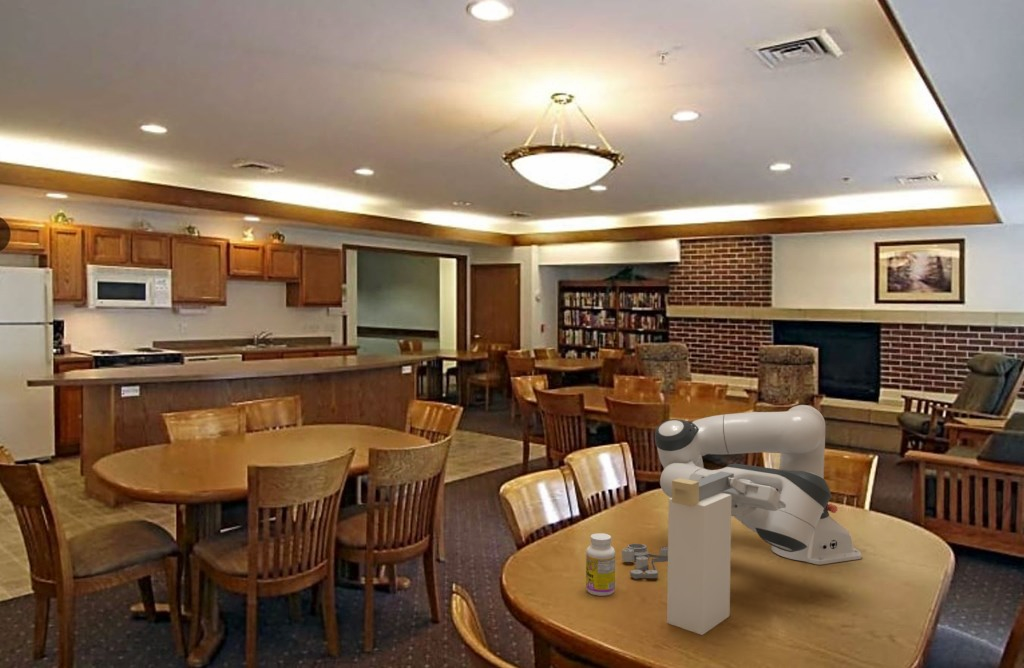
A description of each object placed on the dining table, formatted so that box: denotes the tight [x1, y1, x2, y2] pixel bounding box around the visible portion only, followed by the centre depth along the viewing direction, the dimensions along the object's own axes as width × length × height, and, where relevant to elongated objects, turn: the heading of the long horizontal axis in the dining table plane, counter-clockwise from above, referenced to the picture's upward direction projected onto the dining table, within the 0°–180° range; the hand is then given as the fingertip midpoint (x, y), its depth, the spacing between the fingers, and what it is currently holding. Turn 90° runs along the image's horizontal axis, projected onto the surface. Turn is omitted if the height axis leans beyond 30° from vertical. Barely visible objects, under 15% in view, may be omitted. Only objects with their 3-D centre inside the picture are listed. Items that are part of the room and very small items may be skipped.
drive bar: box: [672, 471, 734, 506], centre depth 149 cm, size 20×4×4 cm, turn 137°
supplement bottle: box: [585, 532, 616, 597], centre depth 163 cm, size 7×7×13 cm
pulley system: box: [621, 543, 668, 580], centre depth 182 cm, size 27×5×15 cm
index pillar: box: [666, 493, 732, 636], centre depth 148 cm, size 12×8×26 cm, turn 137°
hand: (720, 479), depth 154 cm, fingers closed on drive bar, 3 cm apart
